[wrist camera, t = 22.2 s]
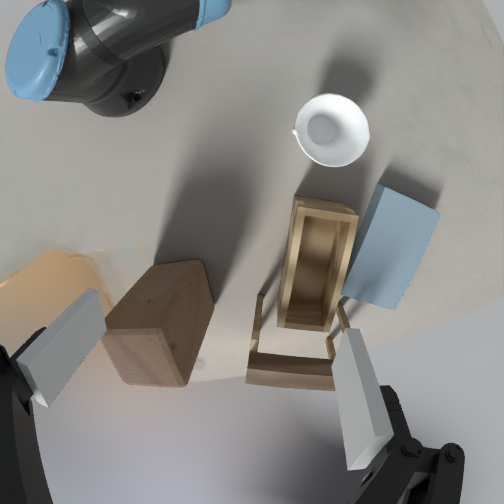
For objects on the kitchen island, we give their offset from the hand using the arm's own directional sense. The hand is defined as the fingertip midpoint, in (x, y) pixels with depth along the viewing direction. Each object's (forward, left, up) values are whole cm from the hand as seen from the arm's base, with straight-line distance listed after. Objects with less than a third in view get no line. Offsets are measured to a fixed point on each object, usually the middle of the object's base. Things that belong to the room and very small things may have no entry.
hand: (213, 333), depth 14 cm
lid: (+4, +22, -32) cm, 39 cm away
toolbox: (+11, +10, -32) cm, 35 cm away
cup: (-12, +8, -32) cm, 35 cm away
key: (+19, +9, -19) cm, 29 cm away
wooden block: (+16, -11, -32) cm, 37 cm away
